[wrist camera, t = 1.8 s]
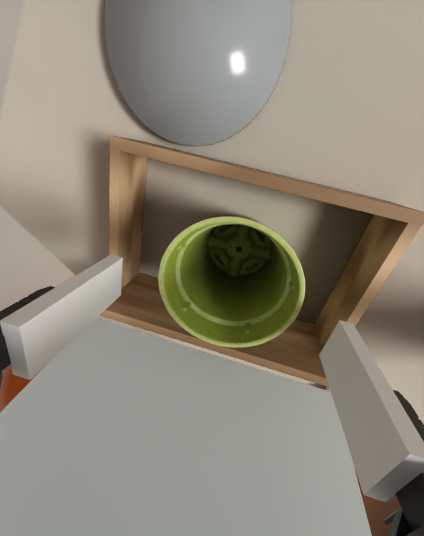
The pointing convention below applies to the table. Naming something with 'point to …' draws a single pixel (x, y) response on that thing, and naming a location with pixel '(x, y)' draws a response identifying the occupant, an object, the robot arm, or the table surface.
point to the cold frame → (373, 240)
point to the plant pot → (231, 282)
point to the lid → (171, 447)
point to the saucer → (197, 62)
